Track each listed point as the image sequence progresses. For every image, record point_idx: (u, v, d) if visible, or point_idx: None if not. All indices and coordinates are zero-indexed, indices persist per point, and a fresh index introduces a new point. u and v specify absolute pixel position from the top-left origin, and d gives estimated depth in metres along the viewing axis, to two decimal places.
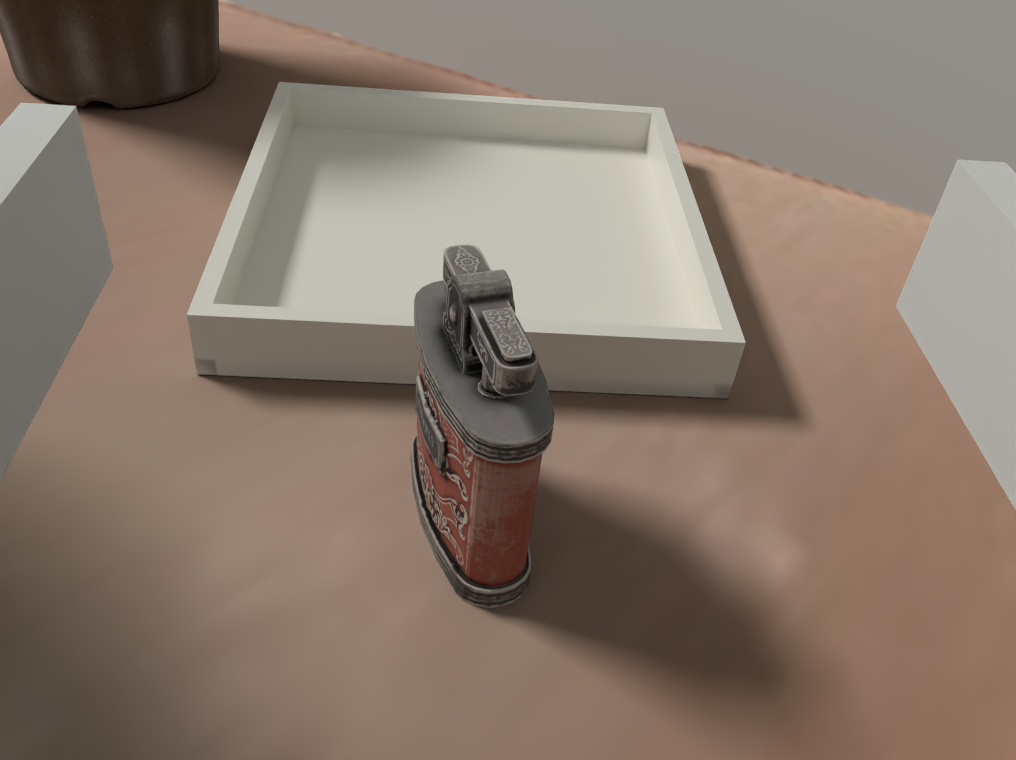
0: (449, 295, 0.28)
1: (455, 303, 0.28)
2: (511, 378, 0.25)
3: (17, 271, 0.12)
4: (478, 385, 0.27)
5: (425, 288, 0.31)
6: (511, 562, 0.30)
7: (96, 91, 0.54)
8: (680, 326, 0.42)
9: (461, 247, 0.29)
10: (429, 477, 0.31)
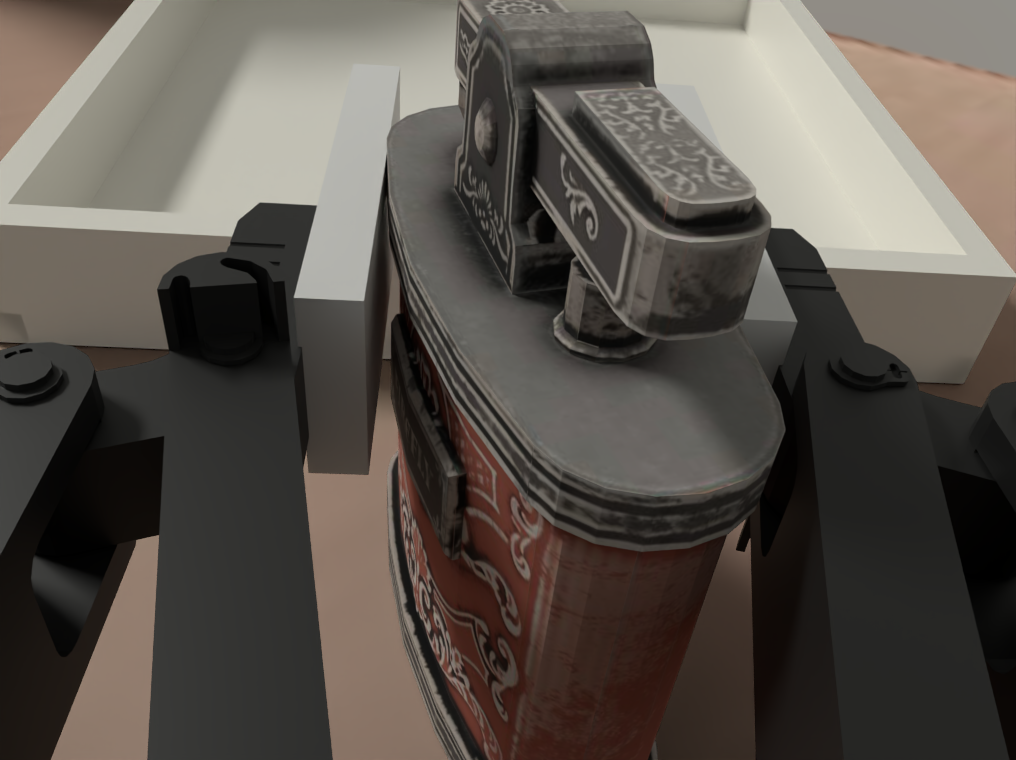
0: (473, 88, 0.11)
1: (490, 97, 0.10)
2: (687, 279, 0.08)
3: None
4: (553, 324, 0.10)
5: (413, 117, 0.13)
6: None
7: None
8: None
9: None
10: (421, 552, 0.14)
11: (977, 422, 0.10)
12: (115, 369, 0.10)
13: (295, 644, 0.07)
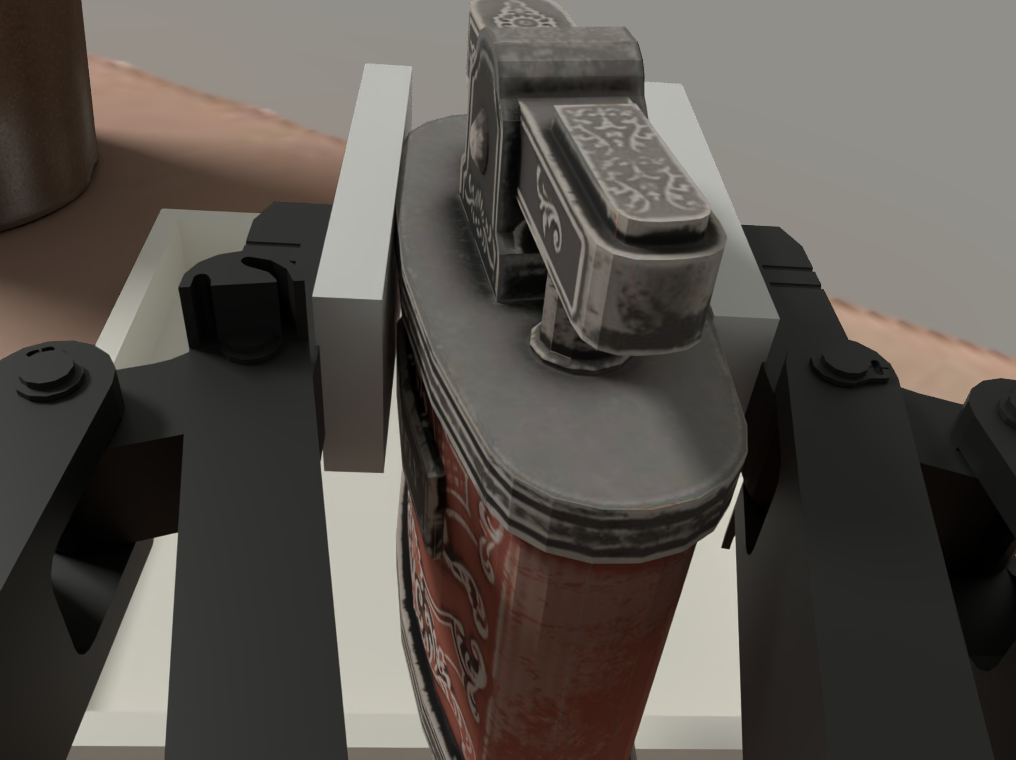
0: (473, 98, 0.11)
1: (483, 108, 0.10)
2: (636, 296, 0.08)
3: None
4: (531, 333, 0.10)
5: (432, 124, 0.14)
6: None
7: None
8: None
9: None
10: (417, 550, 0.14)
11: (959, 420, 0.10)
12: (134, 367, 0.10)
13: (311, 643, 0.07)
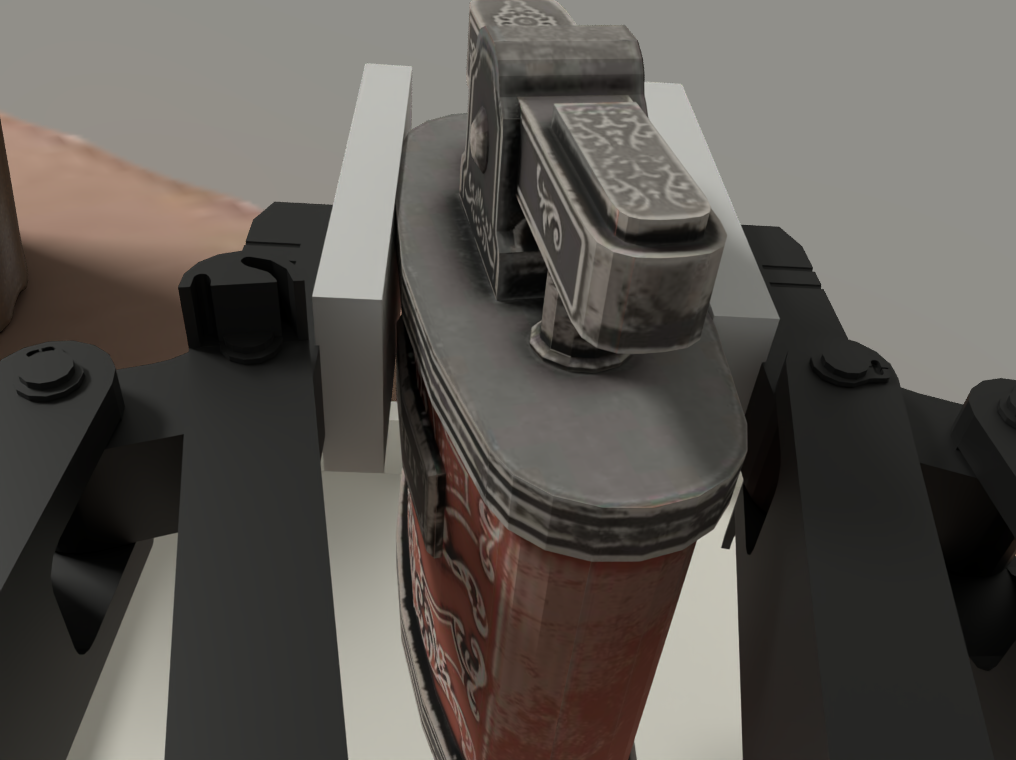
0: (473, 96, 0.11)
1: (484, 107, 0.10)
2: (636, 294, 0.08)
3: None
4: (531, 332, 0.10)
5: (432, 123, 0.14)
6: None
7: None
8: None
9: None
10: (417, 549, 0.14)
11: (958, 419, 0.10)
12: (134, 368, 0.10)
13: (310, 642, 0.07)
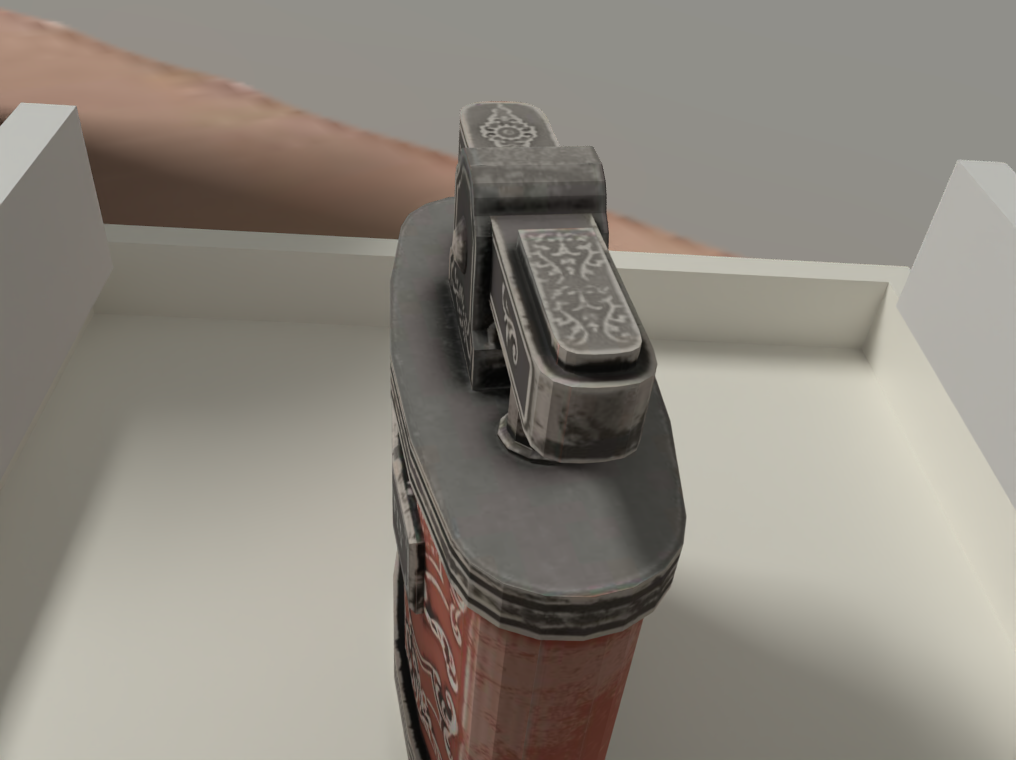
0: (457, 203, 0.12)
1: (463, 218, 0.11)
2: (575, 415, 0.09)
3: (17, 271, 0.12)
4: (501, 422, 0.11)
5: (431, 206, 0.15)
6: None
7: None
8: None
9: (503, 105, 0.13)
10: (406, 598, 0.15)
11: None
12: None
13: None
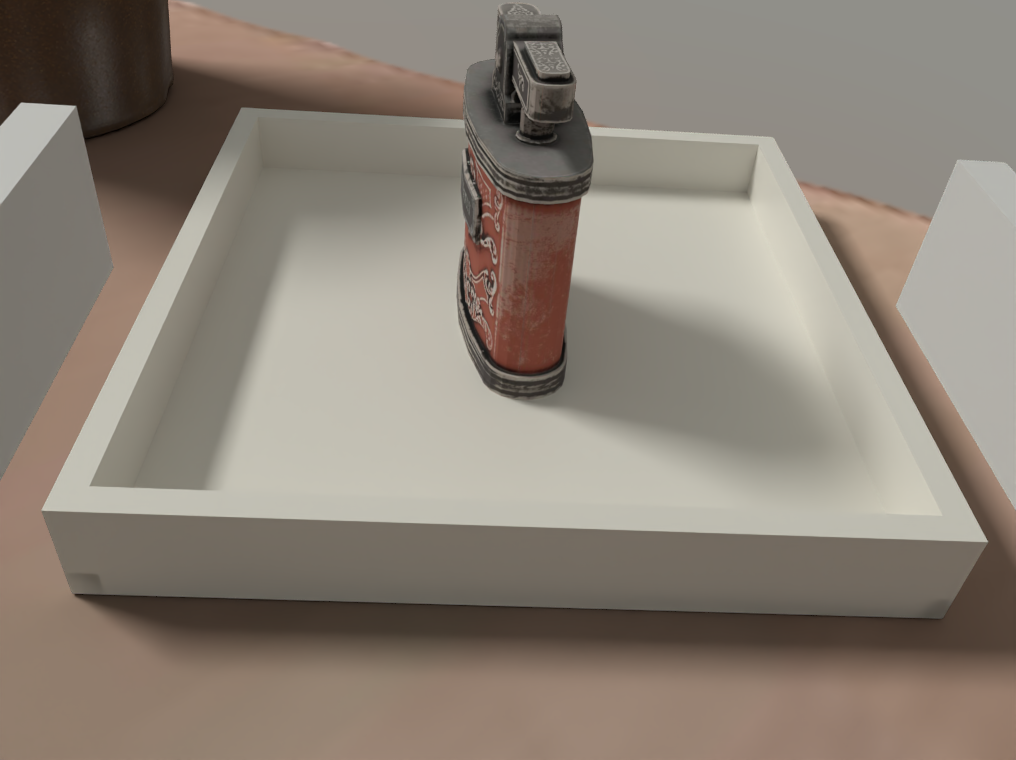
0: (497, 43, 0.26)
1: (501, 46, 0.26)
2: (544, 99, 0.23)
3: (17, 271, 0.12)
4: (516, 133, 0.26)
5: (481, 62, 0.29)
6: (541, 345, 0.28)
7: None
8: (848, 486, 0.27)
9: (518, 4, 0.28)
10: (468, 262, 0.30)
11: None
12: None
13: None
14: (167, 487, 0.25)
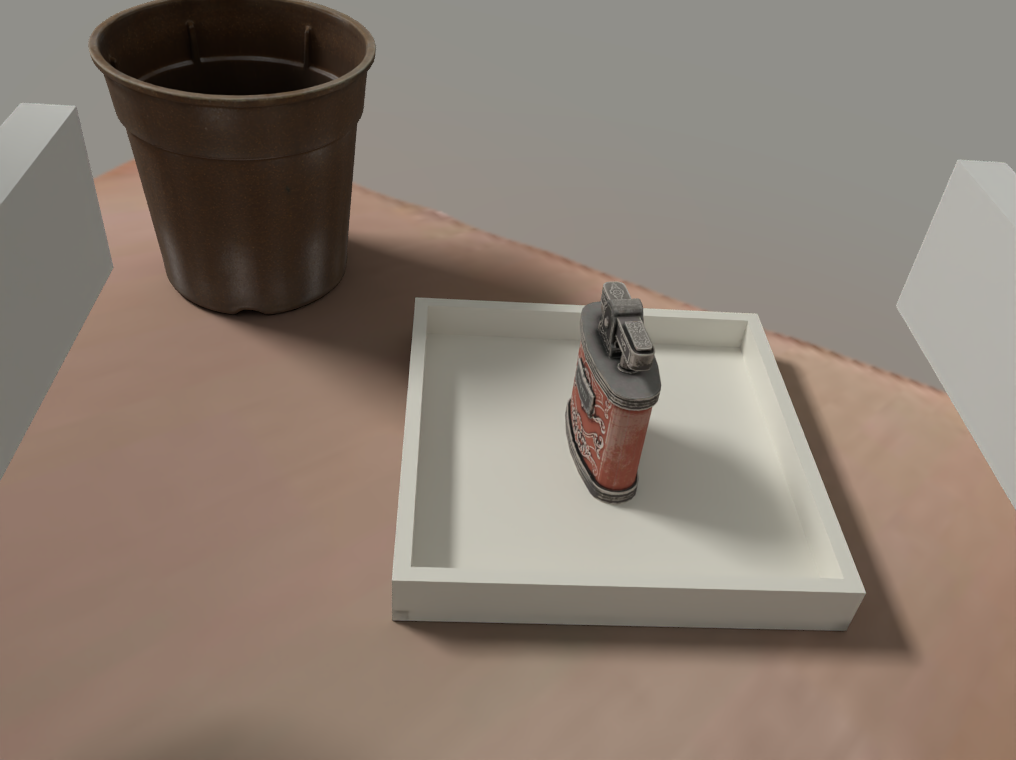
0: (605, 311, 0.47)
1: (608, 316, 0.47)
2: (638, 360, 0.44)
3: (17, 271, 0.12)
4: (617, 365, 0.47)
5: (588, 305, 0.50)
6: (627, 475, 0.49)
7: (249, 303, 0.60)
8: (798, 557, 0.48)
9: (614, 282, 0.49)
10: (579, 422, 0.51)
11: None
12: None
13: None
14: (430, 561, 0.46)
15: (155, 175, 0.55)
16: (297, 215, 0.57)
